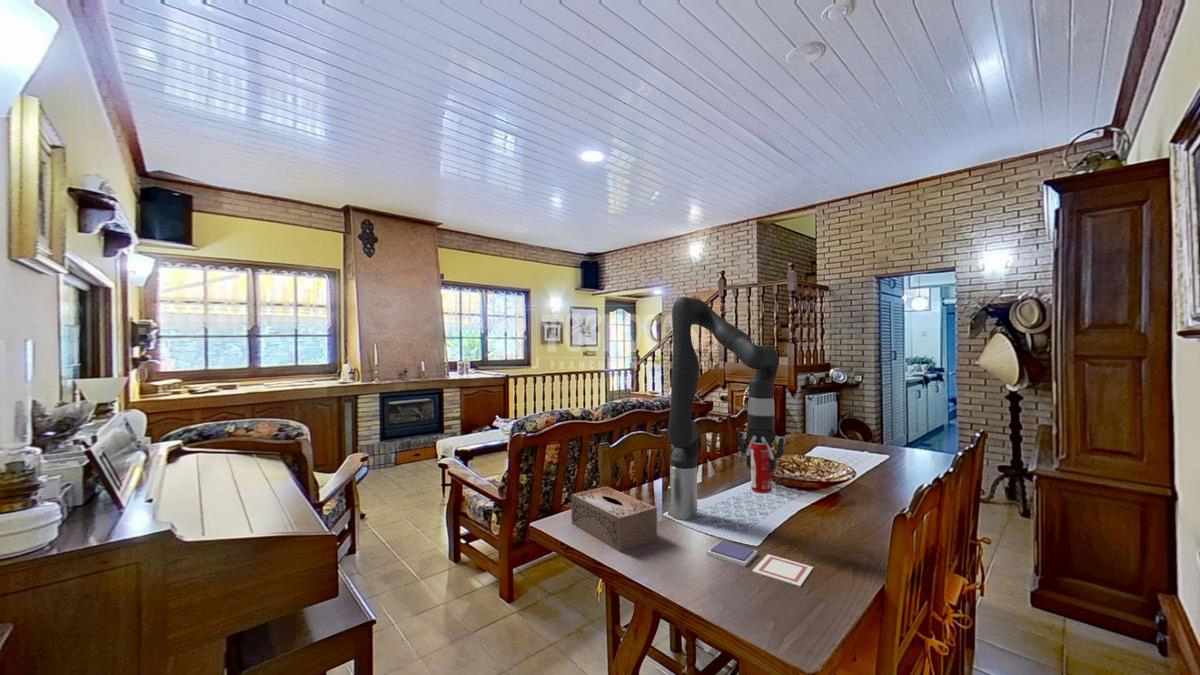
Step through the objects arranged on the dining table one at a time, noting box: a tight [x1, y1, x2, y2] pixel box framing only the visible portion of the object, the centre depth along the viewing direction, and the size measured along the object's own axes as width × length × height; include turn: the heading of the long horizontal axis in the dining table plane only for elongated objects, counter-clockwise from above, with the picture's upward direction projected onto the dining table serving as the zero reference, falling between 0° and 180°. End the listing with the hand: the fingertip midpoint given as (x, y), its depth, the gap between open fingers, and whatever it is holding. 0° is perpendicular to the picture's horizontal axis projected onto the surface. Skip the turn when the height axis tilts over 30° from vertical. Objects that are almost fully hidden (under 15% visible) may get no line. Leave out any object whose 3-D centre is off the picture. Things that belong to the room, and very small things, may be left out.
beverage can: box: [750, 442, 773, 495], centre depth 138 cm, size 6×6×15 cm
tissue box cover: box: [570, 486, 658, 553], centre depth 148 cm, size 26×14×10 cm, turn 36°
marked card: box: [751, 553, 814, 588], centre depth 123 cm, size 12×12×1 cm
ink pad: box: [706, 540, 758, 567], centre depth 131 cm, size 11×9×2 cm
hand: (761, 469), depth 138 cm, fingers closed on beverage can, 5 cm apart
